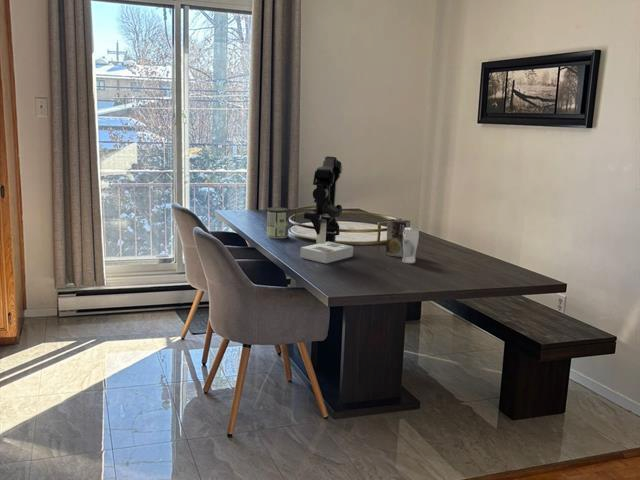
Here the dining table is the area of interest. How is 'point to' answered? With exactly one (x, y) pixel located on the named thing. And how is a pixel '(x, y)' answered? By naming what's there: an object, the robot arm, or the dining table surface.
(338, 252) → the port box
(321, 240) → the plug
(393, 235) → the coffee box
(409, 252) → the beer glass
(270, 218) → the coffee can
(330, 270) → the dining table surface
